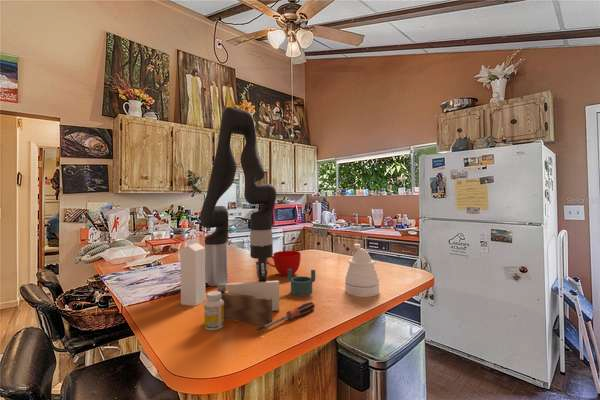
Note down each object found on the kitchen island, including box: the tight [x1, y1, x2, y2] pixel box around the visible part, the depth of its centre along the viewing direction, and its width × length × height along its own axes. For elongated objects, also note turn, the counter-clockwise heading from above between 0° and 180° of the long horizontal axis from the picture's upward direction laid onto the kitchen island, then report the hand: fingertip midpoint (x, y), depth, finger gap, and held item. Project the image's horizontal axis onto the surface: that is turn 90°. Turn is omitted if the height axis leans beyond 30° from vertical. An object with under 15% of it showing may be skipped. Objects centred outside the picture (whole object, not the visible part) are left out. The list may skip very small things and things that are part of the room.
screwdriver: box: [254, 301, 316, 332], centre depth 87 cm, size 25×3×3 cm, turn 139°
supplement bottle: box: [203, 290, 225, 332], centre depth 83 cm, size 5×5×10 cm
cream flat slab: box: [216, 280, 280, 312], centre depth 93 cm, size 19×3×9 cm, turn 99°
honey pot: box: [344, 243, 380, 298], centre depth 113 cm, size 13×13×18 cm
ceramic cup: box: [266, 250, 302, 277], centre depth 139 cm, size 13×17×10 cm
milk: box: [179, 238, 207, 307], centre depth 103 cm, size 6×6×22 cm
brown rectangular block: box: [219, 291, 273, 326], centre depth 88 cm, size 19×4×8 cm, turn 71°
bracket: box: [287, 269, 316, 297], centre depth 113 cm, size 9×9×9 cm
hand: (262, 293), depth 98 cm, fingers closed
